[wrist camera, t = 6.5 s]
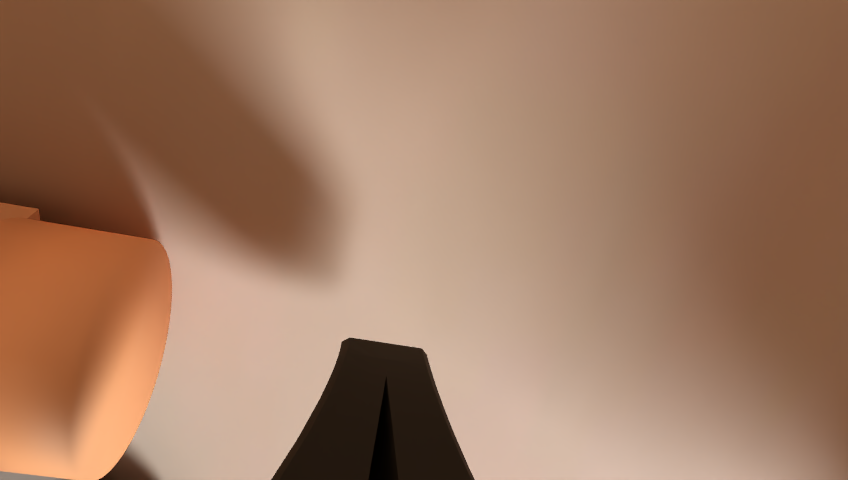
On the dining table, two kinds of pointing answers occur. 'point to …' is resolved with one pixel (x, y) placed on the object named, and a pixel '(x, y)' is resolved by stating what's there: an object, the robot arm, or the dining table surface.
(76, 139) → the dining table surface
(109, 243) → the orange knob
